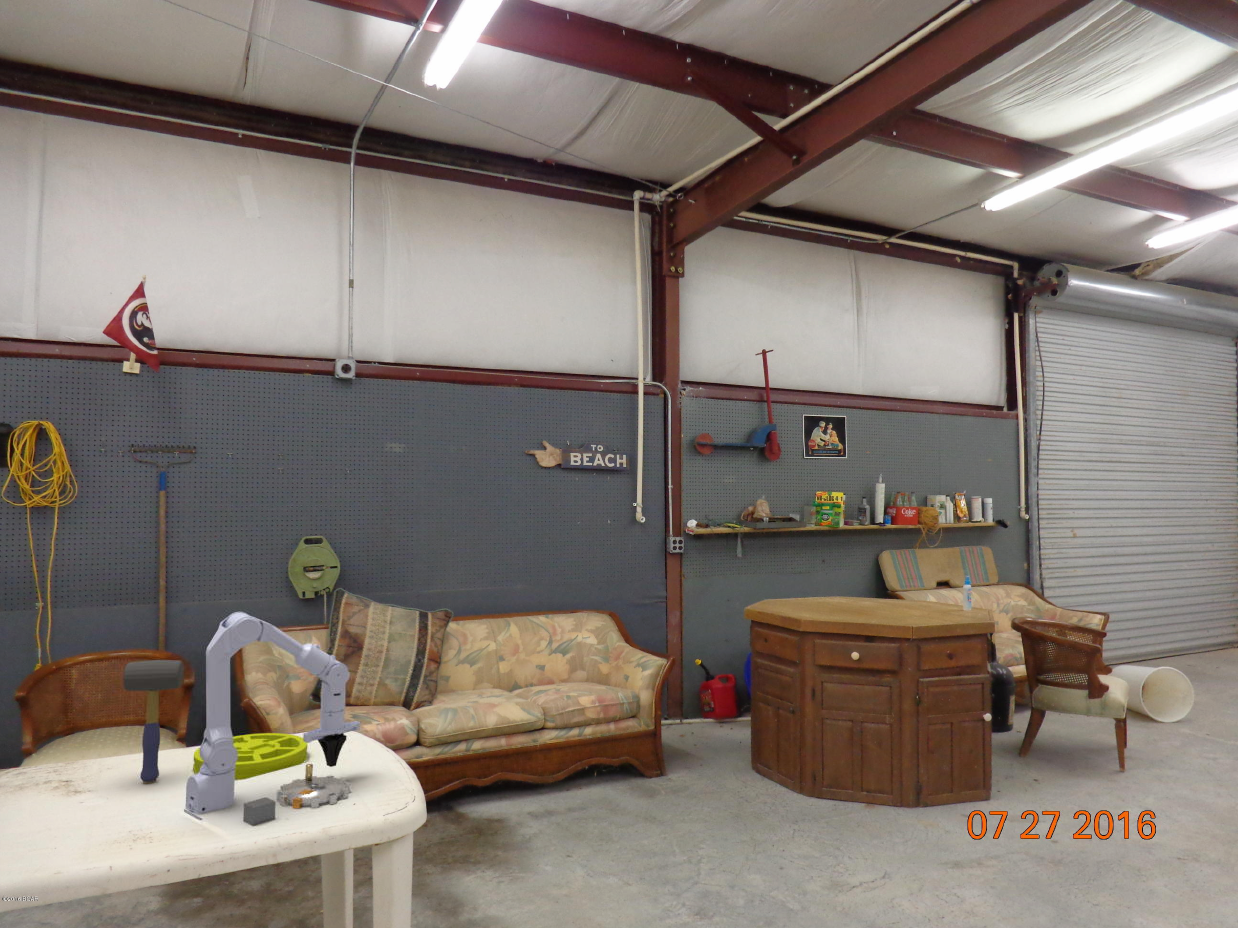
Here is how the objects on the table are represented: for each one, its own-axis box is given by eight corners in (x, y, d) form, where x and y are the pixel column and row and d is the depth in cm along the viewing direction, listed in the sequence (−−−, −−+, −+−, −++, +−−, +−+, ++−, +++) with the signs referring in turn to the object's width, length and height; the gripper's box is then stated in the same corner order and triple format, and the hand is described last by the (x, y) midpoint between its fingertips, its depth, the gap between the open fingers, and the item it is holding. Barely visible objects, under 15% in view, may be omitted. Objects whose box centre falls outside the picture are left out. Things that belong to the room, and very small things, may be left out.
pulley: (180, 760, 219) (181, 742, 219) (285, 742, 237) (286, 724, 237) (210, 789, 198) (211, 768, 198) (322, 766, 216) (323, 746, 217)
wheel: (301, 814, 179) (301, 788, 180) (263, 797, 189) (264, 773, 189) (363, 794, 192) (364, 770, 192) (325, 779, 202) (325, 756, 202)
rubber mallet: (180, 775, 207) (185, 656, 208) (173, 784, 199) (178, 661, 201) (125, 779, 203) (130, 658, 204) (116, 789, 196) (121, 664, 197)
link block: (252, 831, 173) (253, 807, 173) (242, 826, 175) (243, 803, 175) (274, 824, 176) (275, 801, 177) (265, 819, 179) (266, 796, 179)
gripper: (315, 718, 193) (313, 776, 192) (367, 706, 204) (366, 761, 204) (299, 713, 197) (297, 770, 197) (351, 702, 209) (349, 755, 208)
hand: (331, 765), depth 200 cm, fingers closed
